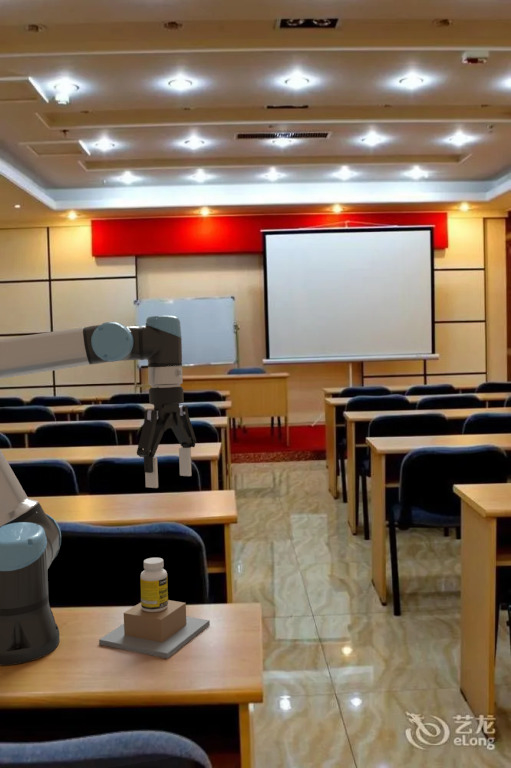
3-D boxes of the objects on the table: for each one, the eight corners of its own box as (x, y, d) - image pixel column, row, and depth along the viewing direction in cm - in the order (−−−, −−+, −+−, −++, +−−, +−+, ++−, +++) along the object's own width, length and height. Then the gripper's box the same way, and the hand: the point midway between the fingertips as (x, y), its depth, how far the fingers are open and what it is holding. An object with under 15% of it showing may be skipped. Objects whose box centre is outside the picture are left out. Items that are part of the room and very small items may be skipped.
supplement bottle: (162, 614, 126) (161, 565, 126) (137, 612, 127) (135, 564, 127) (172, 603, 131) (170, 556, 131) (147, 602, 133) (145, 555, 132)
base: (99, 644, 126) (98, 617, 126) (146, 613, 140) (145, 589, 140) (167, 658, 119) (166, 629, 119) (209, 624, 133) (208, 599, 133)
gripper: (147, 389, 128) (151, 493, 129) (208, 383, 151) (211, 472, 151) (117, 389, 131) (121, 491, 132) (181, 383, 154) (184, 470, 155)
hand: (169, 481), depth 142 cm, fingers open, 13 cm apart
